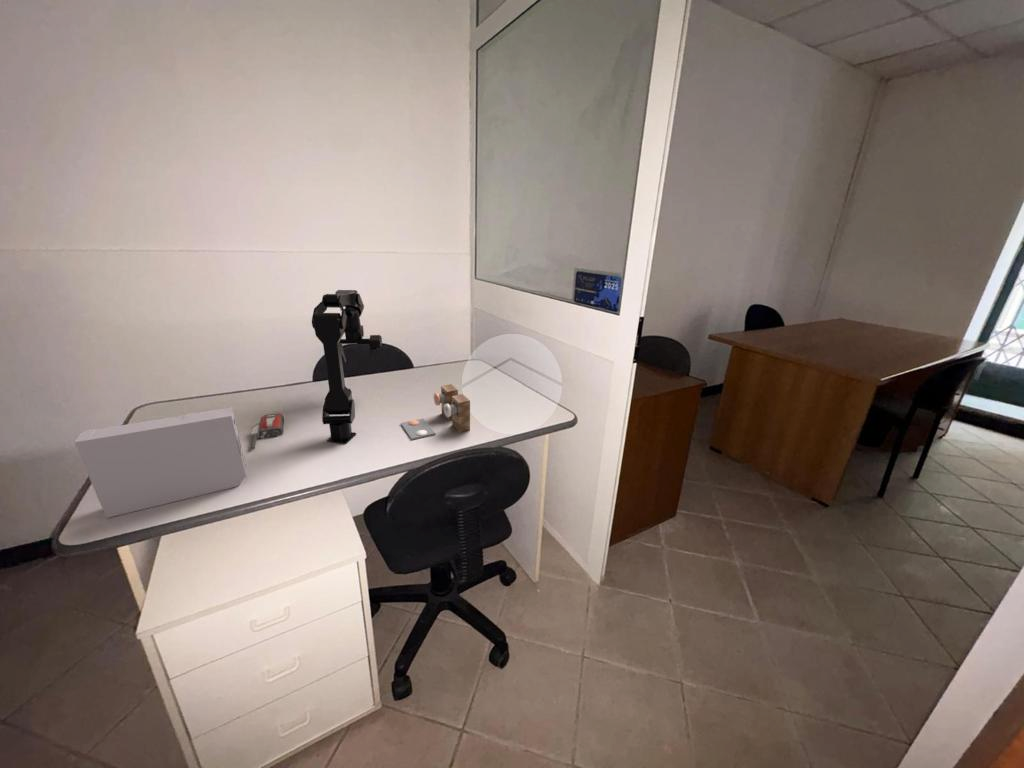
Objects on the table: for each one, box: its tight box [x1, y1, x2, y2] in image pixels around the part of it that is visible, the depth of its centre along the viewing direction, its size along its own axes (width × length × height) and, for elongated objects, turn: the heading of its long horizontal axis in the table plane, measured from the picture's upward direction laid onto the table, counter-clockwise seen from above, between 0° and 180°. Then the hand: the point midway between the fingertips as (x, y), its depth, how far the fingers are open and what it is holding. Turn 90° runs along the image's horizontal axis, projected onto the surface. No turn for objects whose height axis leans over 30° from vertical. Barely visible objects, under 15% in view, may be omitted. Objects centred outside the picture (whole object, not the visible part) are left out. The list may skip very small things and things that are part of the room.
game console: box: [74, 406, 247, 519], centre depth 95 cm, size 6×27×20 cm, turn 122°
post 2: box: [451, 393, 471, 433], centre depth 135 cm, size 4×6×11 cm, turn 31°
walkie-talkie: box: [250, 412, 285, 450], centre depth 127 cm, size 9×4×20 cm
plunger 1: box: [433, 392, 446, 406], centre depth 141 cm, size 7×4×4 cm, turn 121°
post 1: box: [440, 383, 459, 421], centre depth 143 cm, size 4×6×11 cm, turn 31°
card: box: [400, 418, 436, 441], centre depth 134 cm, size 8×12×1 cm, turn 31°
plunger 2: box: [444, 404, 458, 417], centre depth 133 cm, size 7×4×4 cm, turn 121°
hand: (358, 361), depth 151 cm, fingers open, 9 cm apart
